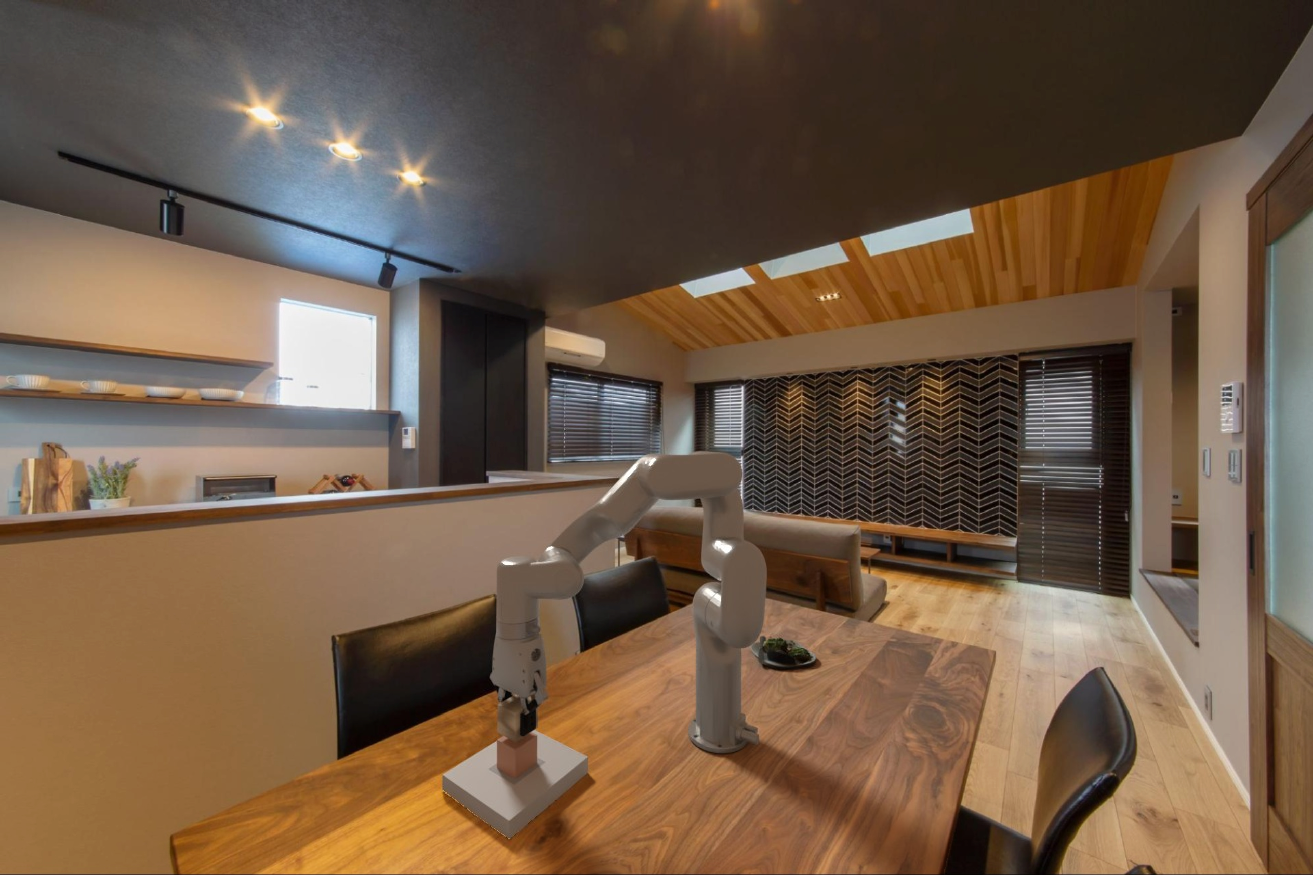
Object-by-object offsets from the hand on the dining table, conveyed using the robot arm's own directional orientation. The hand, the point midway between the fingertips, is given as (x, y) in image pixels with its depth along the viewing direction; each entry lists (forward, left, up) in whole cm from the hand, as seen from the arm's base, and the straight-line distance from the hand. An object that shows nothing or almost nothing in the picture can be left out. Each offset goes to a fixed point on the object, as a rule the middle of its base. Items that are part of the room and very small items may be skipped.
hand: (517, 725), depth 86 cm
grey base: (0, 0, -10) cm, 10 cm away
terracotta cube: (0, 0, -7) cm, 7 cm away
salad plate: (-23, -76, -11) cm, 80 cm away
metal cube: (0, 0, -1) cm, 1 cm away
